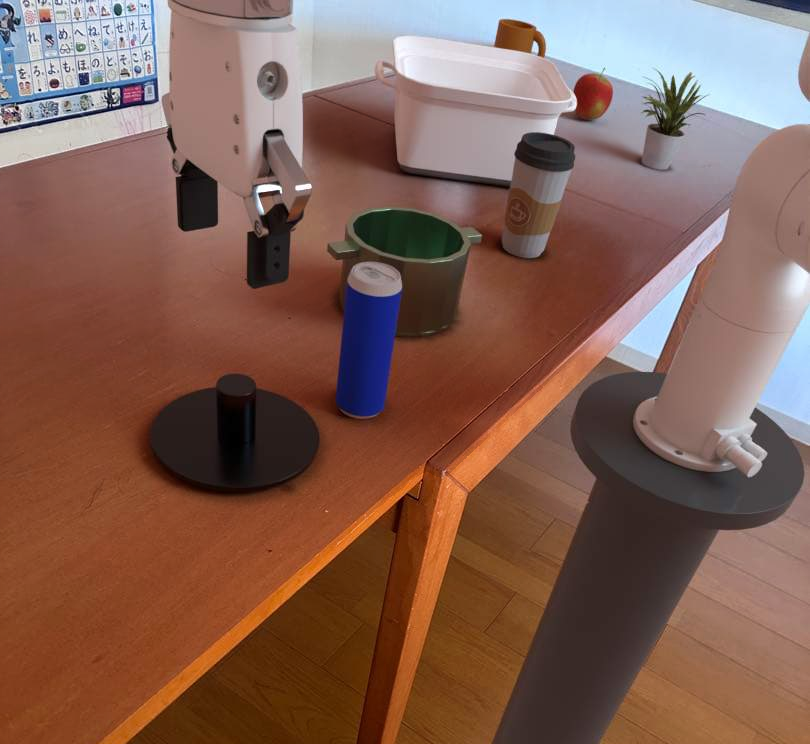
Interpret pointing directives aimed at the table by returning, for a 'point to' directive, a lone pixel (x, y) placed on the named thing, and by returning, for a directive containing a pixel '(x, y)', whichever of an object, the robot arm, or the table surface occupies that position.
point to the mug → (519, 37)
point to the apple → (592, 96)
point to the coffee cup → (536, 192)
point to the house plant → (667, 123)
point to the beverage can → (367, 338)
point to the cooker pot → (411, 262)
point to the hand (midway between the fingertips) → (231, 254)
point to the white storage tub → (469, 106)
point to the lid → (234, 437)
